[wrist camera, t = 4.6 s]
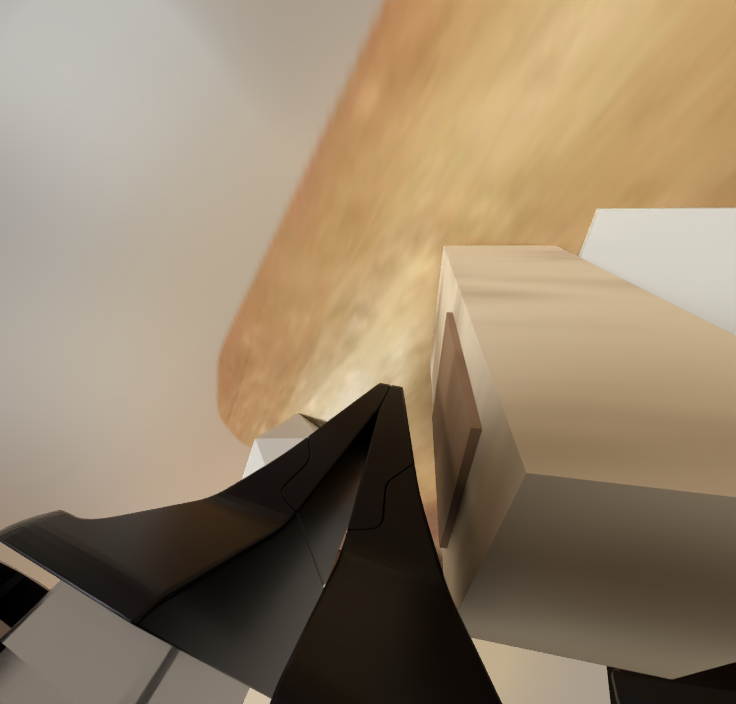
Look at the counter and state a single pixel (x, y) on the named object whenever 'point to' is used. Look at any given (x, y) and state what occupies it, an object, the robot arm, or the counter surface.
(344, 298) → the counter surface
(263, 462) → the die
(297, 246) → the counter surface
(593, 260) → the mat
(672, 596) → the birch block
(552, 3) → the counter surface
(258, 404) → the counter surface
